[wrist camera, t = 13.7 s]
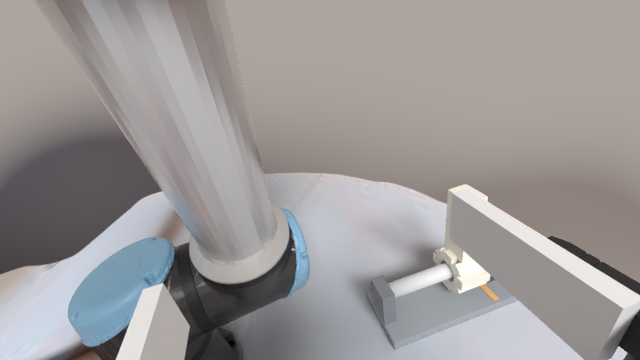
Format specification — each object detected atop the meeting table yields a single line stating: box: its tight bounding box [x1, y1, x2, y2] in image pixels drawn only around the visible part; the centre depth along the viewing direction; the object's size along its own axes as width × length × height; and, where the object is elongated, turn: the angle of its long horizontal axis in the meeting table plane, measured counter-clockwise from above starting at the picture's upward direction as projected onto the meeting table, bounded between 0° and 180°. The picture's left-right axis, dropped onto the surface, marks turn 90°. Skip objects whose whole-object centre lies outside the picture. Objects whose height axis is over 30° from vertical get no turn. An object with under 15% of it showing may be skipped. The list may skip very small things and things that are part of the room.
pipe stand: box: [367, 263, 518, 349], centre depth 46 cm, size 26×10×8 cm, turn 105°
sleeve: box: [433, 184, 490, 293], centre depth 43 cm, size 5×7×18 cm
